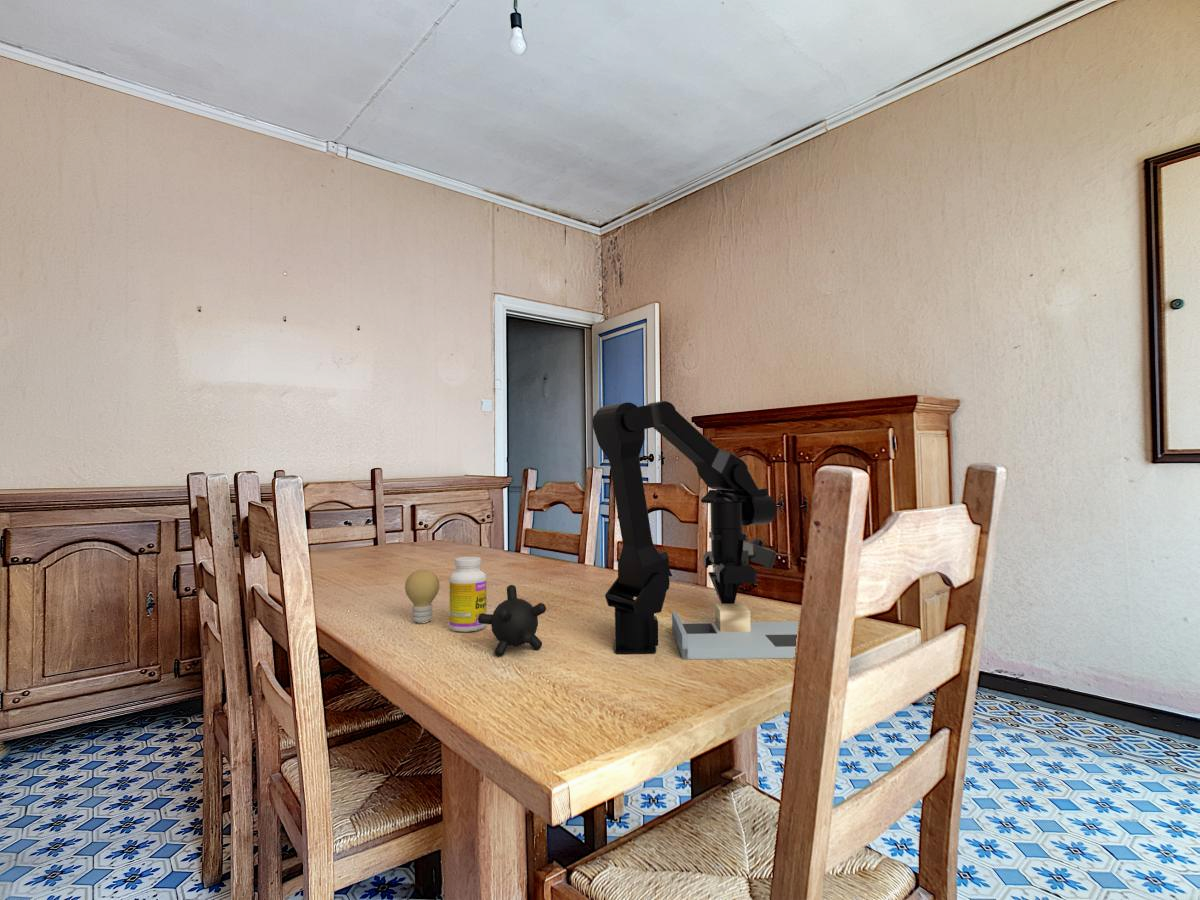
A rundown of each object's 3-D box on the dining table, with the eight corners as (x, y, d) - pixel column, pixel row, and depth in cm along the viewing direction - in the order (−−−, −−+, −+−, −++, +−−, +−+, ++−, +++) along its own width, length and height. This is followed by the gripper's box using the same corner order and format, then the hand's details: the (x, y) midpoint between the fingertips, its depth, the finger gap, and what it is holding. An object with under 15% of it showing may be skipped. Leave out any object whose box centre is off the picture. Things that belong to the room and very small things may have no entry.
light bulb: (405, 619, 119) (404, 568, 119) (439, 616, 121) (438, 566, 121) (405, 627, 113) (404, 573, 113) (440, 624, 114) (440, 571, 115)
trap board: (682, 659, 92) (682, 635, 92) (672, 632, 107) (671, 611, 107) (835, 657, 92) (834, 633, 92) (803, 630, 107) (802, 609, 107)
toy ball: (482, 648, 89) (458, 611, 99) (524, 684, 94) (497, 645, 105) (534, 595, 92) (505, 564, 102) (572, 633, 97) (541, 600, 107)
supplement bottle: (478, 634, 107) (477, 561, 108) (443, 632, 109) (442, 560, 109) (492, 624, 114) (491, 555, 114) (459, 623, 115) (458, 555, 116)
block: (720, 632, 101) (720, 610, 101) (715, 624, 106) (714, 603, 106) (750, 631, 101) (750, 610, 101) (743, 623, 106) (743, 603, 106)
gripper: (786, 532, 100) (788, 627, 100) (758, 522, 119) (760, 602, 119) (719, 533, 101) (721, 628, 100) (701, 522, 119) (703, 602, 119)
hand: (728, 614), depth 109 cm, fingers closed
